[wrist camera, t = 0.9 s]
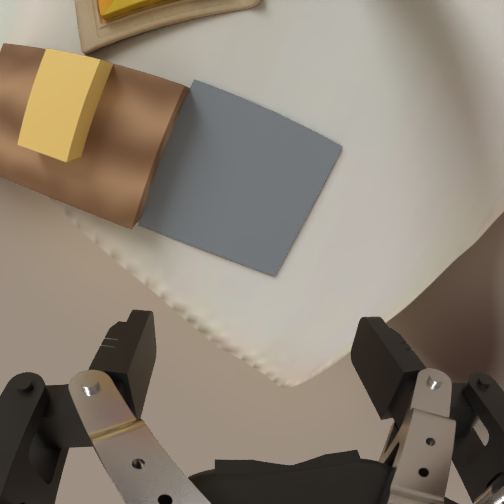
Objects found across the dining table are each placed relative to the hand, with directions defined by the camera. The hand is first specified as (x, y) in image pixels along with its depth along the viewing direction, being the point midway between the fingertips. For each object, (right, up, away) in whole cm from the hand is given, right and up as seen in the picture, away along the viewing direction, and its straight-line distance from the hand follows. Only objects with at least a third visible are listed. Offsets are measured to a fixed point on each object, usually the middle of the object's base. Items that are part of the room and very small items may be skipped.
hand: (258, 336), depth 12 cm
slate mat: (-2, +10, +20) cm, 22 cm away
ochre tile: (-17, +16, +10) cm, 25 cm away
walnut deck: (-19, +17, +15) cm, 30 cm away
